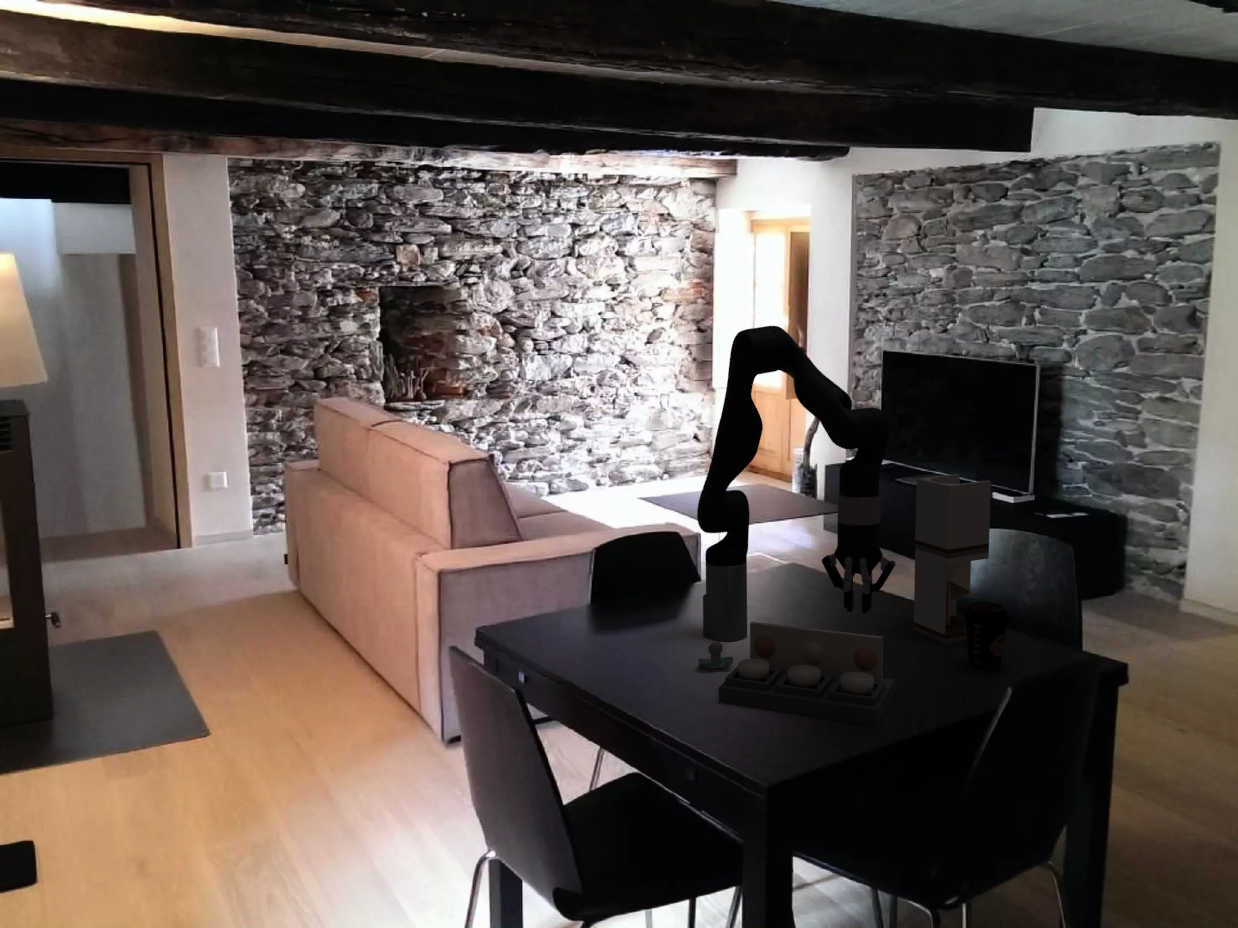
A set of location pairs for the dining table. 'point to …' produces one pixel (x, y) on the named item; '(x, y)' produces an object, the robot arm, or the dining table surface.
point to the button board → (833, 660)
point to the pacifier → (715, 658)
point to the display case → (947, 551)
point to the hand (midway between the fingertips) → (857, 610)
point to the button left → (753, 668)
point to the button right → (857, 682)
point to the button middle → (804, 675)
